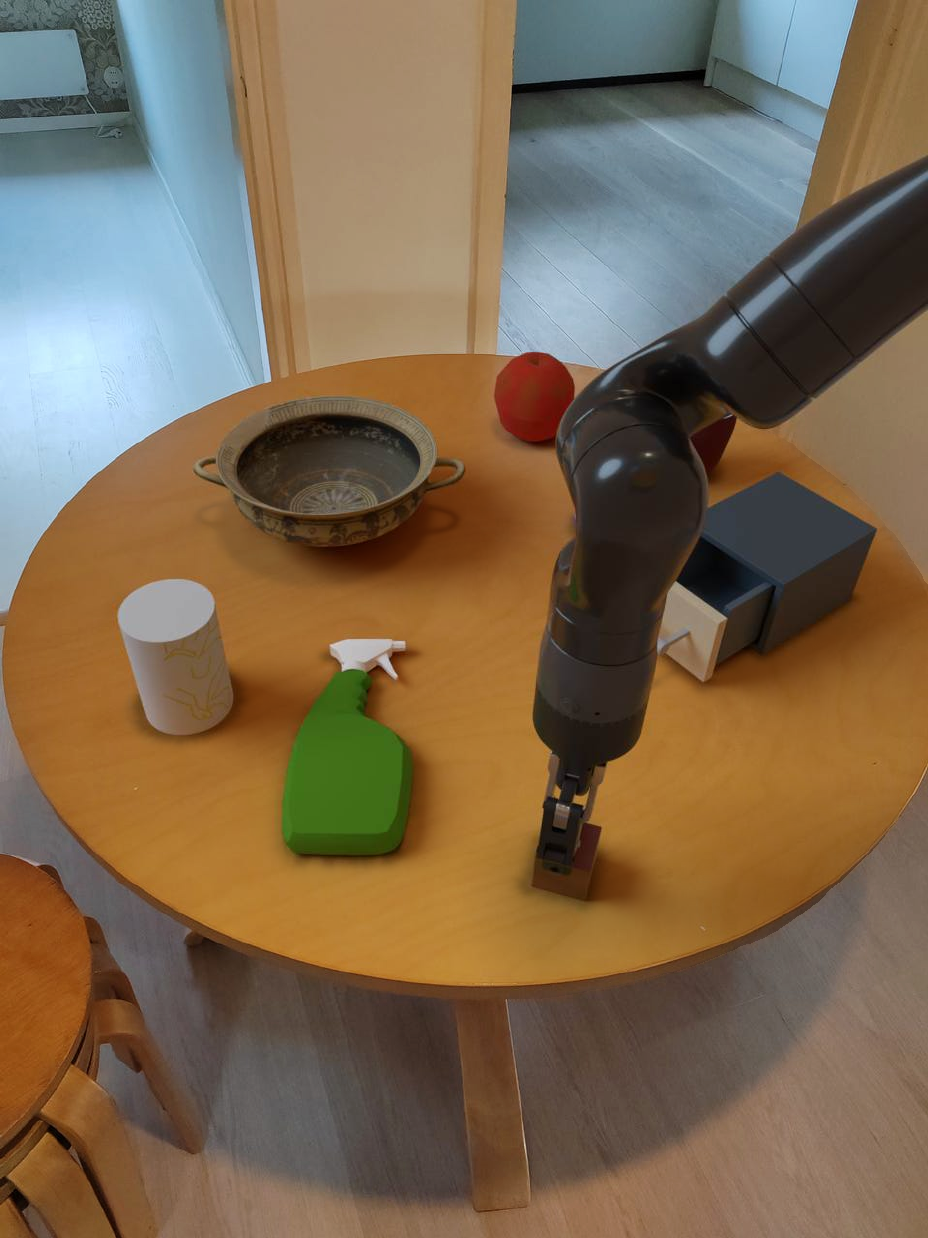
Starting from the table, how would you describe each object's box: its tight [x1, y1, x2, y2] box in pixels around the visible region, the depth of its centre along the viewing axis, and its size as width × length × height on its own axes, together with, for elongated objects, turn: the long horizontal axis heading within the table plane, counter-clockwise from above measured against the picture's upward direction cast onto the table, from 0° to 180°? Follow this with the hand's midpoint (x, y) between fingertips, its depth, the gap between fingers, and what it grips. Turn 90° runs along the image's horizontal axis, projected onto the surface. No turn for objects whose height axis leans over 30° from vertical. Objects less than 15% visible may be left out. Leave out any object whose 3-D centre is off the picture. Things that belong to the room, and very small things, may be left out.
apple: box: [493, 351, 576, 443], centre depth 125 cm, size 10×10×12 cm
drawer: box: [657, 536, 776, 683], centre depth 98 cm, size 18×11×8 cm, turn 128°
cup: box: [117, 578, 234, 736], centre depth 89 cm, size 8×8×12 cm
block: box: [531, 822, 603, 902], centre depth 79 cm, size 4×4×4 cm
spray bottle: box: [281, 638, 414, 856], centre depth 89 cm, size 3×11×24 cm
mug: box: [690, 415, 738, 476], centre depth 119 cm, size 11×8×10 cm
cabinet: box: [701, 471, 878, 656], centre depth 103 cm, size 15×13×10 cm
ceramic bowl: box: [193, 395, 466, 547], centre depth 111 cm, size 30×24×10 cm
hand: (569, 823), depth 76 cm, fingers open, 8 cm apart
